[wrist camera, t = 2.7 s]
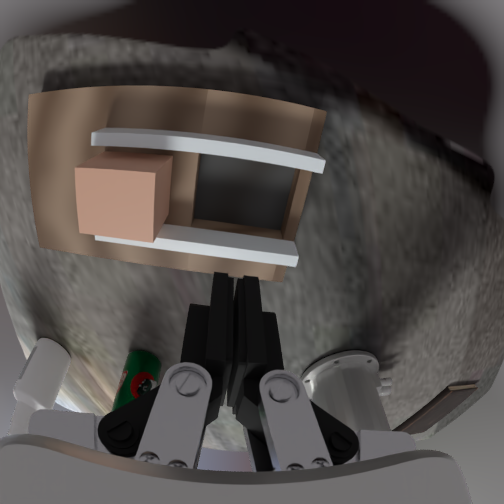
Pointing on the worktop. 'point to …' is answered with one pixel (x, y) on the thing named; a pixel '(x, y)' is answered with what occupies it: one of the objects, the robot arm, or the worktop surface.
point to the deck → (173, 167)
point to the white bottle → (38, 382)
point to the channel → (222, 146)
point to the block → (123, 195)
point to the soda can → (137, 377)
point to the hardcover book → (436, 409)
